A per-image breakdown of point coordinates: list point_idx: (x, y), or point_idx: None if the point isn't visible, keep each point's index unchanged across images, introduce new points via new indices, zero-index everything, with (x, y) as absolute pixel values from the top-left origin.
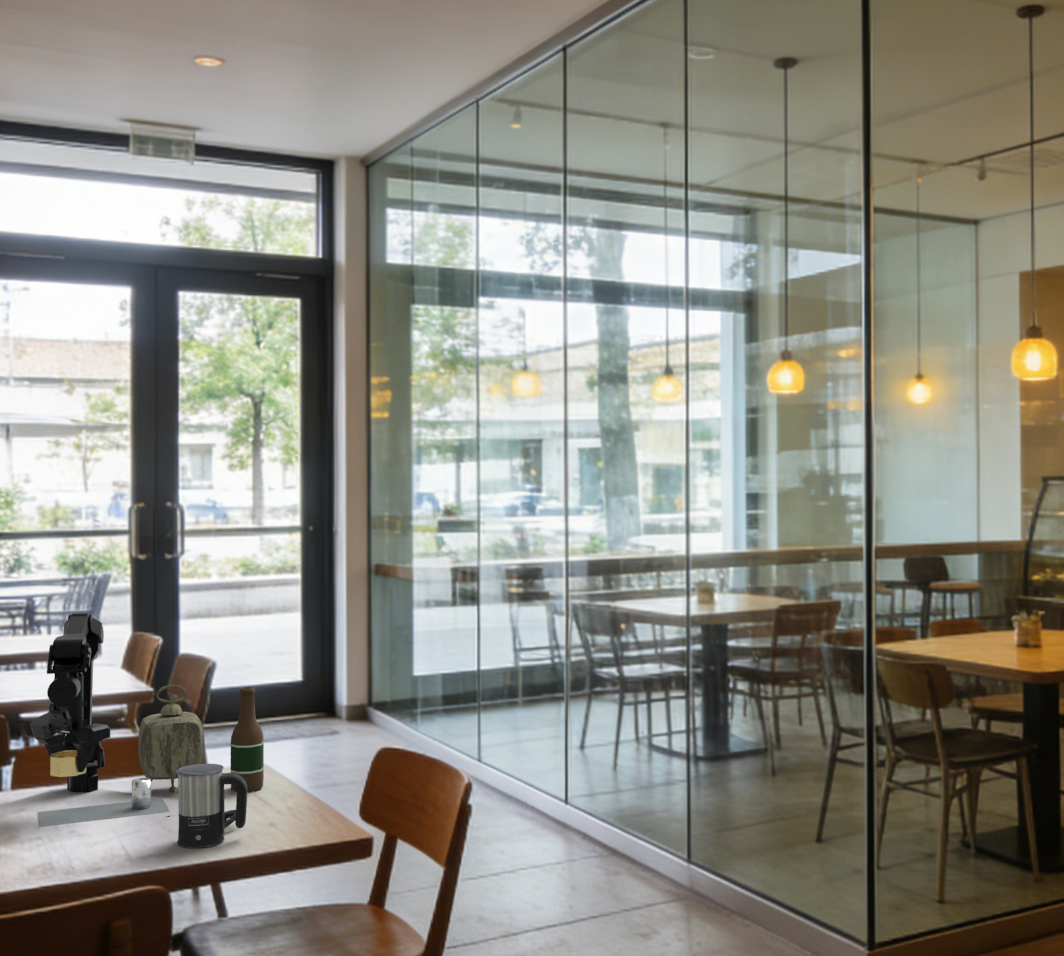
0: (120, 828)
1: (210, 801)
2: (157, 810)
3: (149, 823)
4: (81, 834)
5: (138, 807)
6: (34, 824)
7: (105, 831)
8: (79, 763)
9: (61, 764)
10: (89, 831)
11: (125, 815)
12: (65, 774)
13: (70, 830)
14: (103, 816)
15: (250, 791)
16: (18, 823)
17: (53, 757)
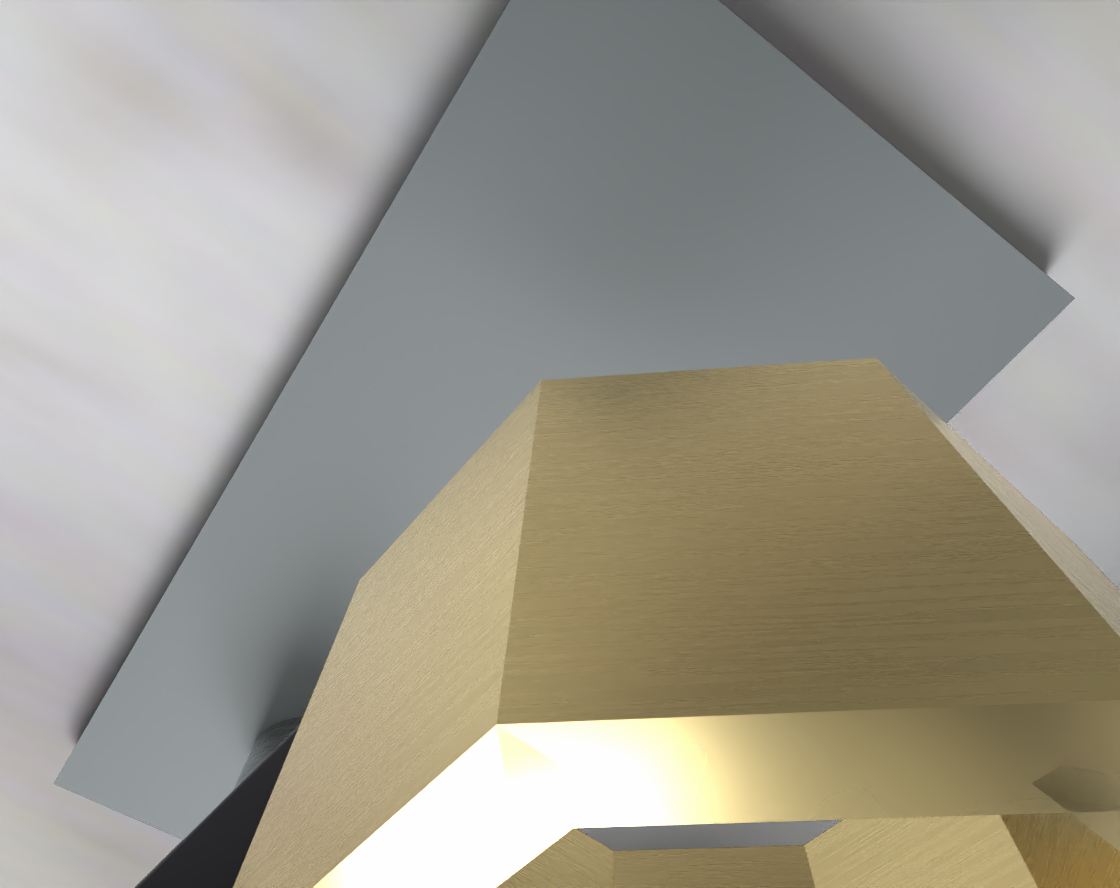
0: (60, 421)
1: None
2: (148, 767)
3: (28, 605)
4: (142, 112)
5: (268, 739)
6: (892, 100)
7: (66, 300)
8: (204, 845)
9: (498, 576)
10: (180, 225)
11: (209, 594)
12: (463, 481)
13: (363, 151)
14: (336, 497)
15: None
16: (1103, 29)
17: (954, 698)
